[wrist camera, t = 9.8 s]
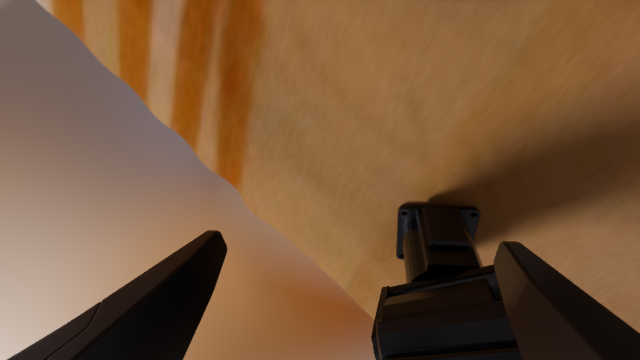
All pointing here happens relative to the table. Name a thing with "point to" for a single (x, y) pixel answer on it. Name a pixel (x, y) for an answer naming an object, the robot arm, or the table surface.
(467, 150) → the table surface
